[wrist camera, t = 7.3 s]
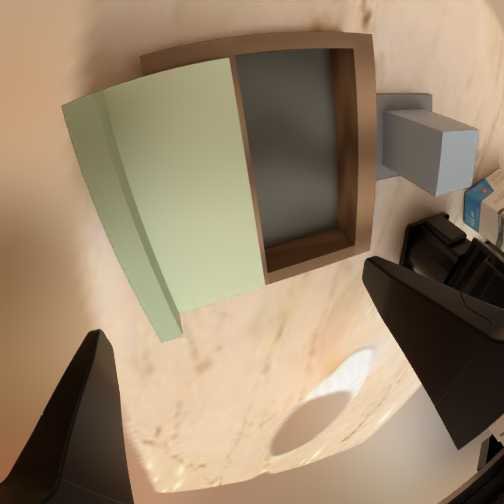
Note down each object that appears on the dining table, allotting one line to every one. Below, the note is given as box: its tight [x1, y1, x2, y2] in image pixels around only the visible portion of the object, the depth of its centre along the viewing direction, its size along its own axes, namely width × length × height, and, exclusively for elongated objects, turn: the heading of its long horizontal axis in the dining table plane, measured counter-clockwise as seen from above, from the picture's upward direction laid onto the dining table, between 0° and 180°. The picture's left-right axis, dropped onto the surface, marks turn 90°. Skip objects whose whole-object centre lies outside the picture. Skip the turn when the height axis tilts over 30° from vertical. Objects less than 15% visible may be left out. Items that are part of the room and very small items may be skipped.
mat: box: [375, 94, 432, 181], centre depth 21 cm, size 7×7×1 cm
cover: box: [61, 58, 265, 343], centre depth 15 cm, size 14×7×3 cm, turn 7°
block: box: [383, 109, 479, 197], centre depth 19 cm, size 4×4×6 cm
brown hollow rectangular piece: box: [140, 32, 377, 285], centre depth 18 cm, size 16×13×3 cm
